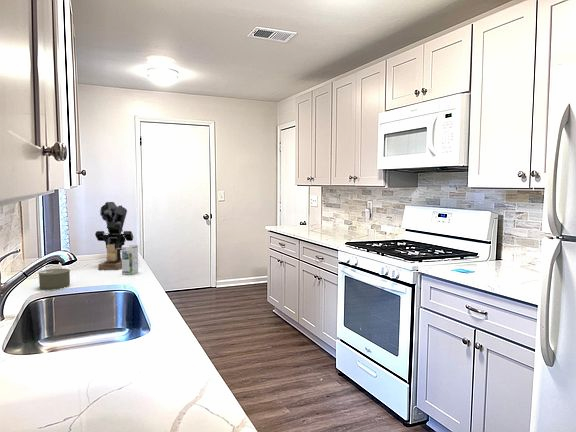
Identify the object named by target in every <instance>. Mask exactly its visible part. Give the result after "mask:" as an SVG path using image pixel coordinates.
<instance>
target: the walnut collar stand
mask: <svg viewBox="0 0 576 432" xmlns="http://www.w3.org/2000/svg"><path fill="white" fill-rule="evenodd" d="M119 269H120V270H122V261H107V260H104V261H103V262H100V263H99V264H98V271H120V270H119Z"/></svg>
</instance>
